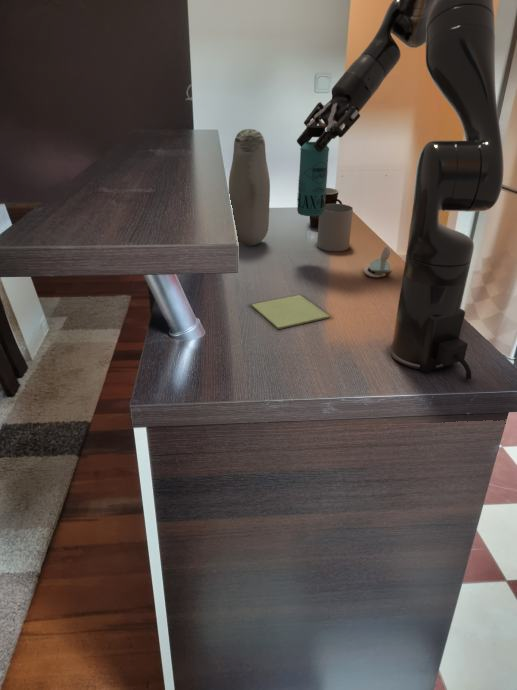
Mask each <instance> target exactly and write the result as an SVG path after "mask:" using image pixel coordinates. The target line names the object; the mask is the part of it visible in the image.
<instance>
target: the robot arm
mask: <svg viewBox="0 0 517 690" xmlns="http://www.w3.org/2000/svg"><path fill="white" fill-rule="evenodd" d="M494 11H495V10H494V0H392V1H391V3H390V4H389V6H388V8H387V10H386V12H385V14H384V17H383V20H382V21H381V24H380V26H379V28H378V30H377V32H376V33H375V35H374V37H373V39H372V40H371V42H370V43H369V44H368V45H367V46H366V48H364V50H363V51H362V53H361V54H360V55H359V56H358V58H356V59H355V60H354V61H353V62H352V63H351V64H350V66H349V67H348V68H347V69H346V70H345V72H344V73H343V74H342V76H341V77H340V78H339V79H338V80H337V82H336V83H335V84H334V85H333V87H332V88H331V99H330V100H329V101H328V102H327V103H326V104H323V103H322V102H321V101H319V102H318V103H317V104H316V105H315V106H314V108H313V109H312V110H311V111H310V113H309V114H308V116H307V117H306V119H305V120H304V121H303V125H304V126H305V129H304V131H302V132H301V134H300V135H299V137H298V138H297V139H296V144H298V145H299V147H300V148H301V147H302V146H303V145H304V144H305V143H306V142H311V140H312V139H313V137H307V136H306V132H307V126H313V125H319V126H324V127H325V131H324V132H323V133H322V134H321V136H320V137H317V139H316V141H314V142H315V143H314V147H315V148H316V150H317V151H319V152H322V151H323V149H324V148H325V147H326V146H328V145H329V144H330V142H331V141H332V140H334V139H336V138H337V137H338V138H343V136H345V134H346V133H347V132H348V131H349V130H350V129H351V128H352V127H353V125H355V123H356V122H357V121H358V120H359V119H360V118H361V114H360V111H362V109H364V106H366V104H367V103H368V102H369V100H370V99H371V98H372V97H373V95H375V93H376V92H377V90H378V89H380V86H381V85H382V83H383V82H384V80H385V79H386V78H387V76H388V75H389V74H390V73H391V72H392V70H393V69H394V68H395V66H396V65H397V64H398V63H399V61H400V59H401V57H402V56H401V50H400V46H399V45H398V44H397V42H396V41H395V39H394V38H393V36H394V37H396V38H397V39H398V40H399V41H400V42H402V43H403V44H404V45H405V46H407V48H408V47H409V48H411V49H418V48H421V47H422V46H423V45H425V65H426V69H427V72H428V75H429V77H430V79H431V80H432V83H433V84H434V85H435V86H436V88H437V89H438V91H439V92H440V94H441V95H442V97H443V98H444V99H445V100H446V102H447V103H448V104H449V106H450V107H451V108H452V110H453V111H454V112H455V114H456V116H457V118H458V119H459V122H460V123H461V127H462V129H463V133H464V138H465V140H446V139H445V140H443V139H442V140H431V141H428V142H427V143H426V144H425V145H423V147H422V149H421V151H420V153H419V156H418V159H417V164H416V169H415V177H414V186H413V187H414V188H413V198H412V208H411V216H410V224H409V230H408V232H409V233H408V239H407V240H408V241H407V246H406V254H405V261H404V267H403V273H402V279H401V286H400V291H399V299H398V305H397V309H396V310H397V311H396V316H395V324H394V329H393V330H394V331H393V337H392V342H391V343H392V344H391V345H390V355H391V357H392V359H394V360H395V361H396V362H397V363H399V364H401V365H403V366H406V367H408V368H411V369H416V370H419V371H421V372H423V373H425V374H426V373H430V372H432V371H433V372H434V371H436V370H440V369H443V368H446V367H449V366H450V367H451V366H453V365H454V364H456V363H460V364H461V366H462V367H463V368H464V370H465V379H466V380H467V381H470V380H471V379H472V369H471V366H470V365H469V364H468V362H467V361H466V360H465V358H466V354H467V351H468V350H467V349H468V346H469V343H468V342H466V341H464V340H462V339H461V338H460V337H461V334H462V330H463V326H464V325H463V324H464V321H465V316H466V311H465V310H464V309H462V304H463V300H464V299H463V298H464V295H465V289H466V284H467V280H468V276H469V272H470V267H471V264H472V263H471V262H472V259H473V254H474V248H475V243H474V240H473V239H472V238H470V237H469V235H466V234H465V233H463V232H460V231H457V230H455V229H452V228H450V227H448V226H446V225H444V224H443V223H442V222H440V212H466V213H467V212H485V211H488V210H490V209H492V208H493V207H495V205H496V203H497V202H498V200H499V198H500V196H501V192H502V188H503V182H504V152H503V143H502V135H501V126H500V119H499V112H498V105H497V104H498V103H497V94H496V68H495V67H496V65H495V64H496V63H495V62H496V33H495V32H496V31H495V28H496V27H495V12H494ZM392 35H393V36H392Z"/></svg>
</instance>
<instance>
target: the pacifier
mask: <svg viewBox="0 0 517 690" xmlns="http://www.w3.org/2000/svg"><path fill="white" fill-rule="evenodd" d="M390 255H391V251H390V249H389V247H387V246H385V247H384V248H383V250H382V252H381V255H380V258H376V259H374V260H372V261H371V262H370V264H369V266H366V267H365V268H364V270H363V272H364V274H365V275H366V276H368V277H371V278H381V277H385V276H386V275H387V274H390V273H393V270H390V269H391V264H390V262H388V261H387V260H388V259H389V258H390ZM370 271H372V272H374V273H372V272H370Z"/></svg>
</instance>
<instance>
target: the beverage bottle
mask: <svg viewBox="0 0 517 690" xmlns="http://www.w3.org/2000/svg"><path fill="white" fill-rule="evenodd" d="M324 131H326V128H325V127H324V126H319V124H317V125H313V126H307V132H306V136H307V137H312V138H319V137H320V136H321V134H322V133H323V132H324ZM315 142H316V141H309V142H306V143H305V144H304V145H303V146H302V147H301V146H300V148H299V149H300V150H299V151H300V154H299V172H298V174H299V175H298V187H297V197H296V198H297V199H296V200H297V207H296V210H297V214H298V215H300V216H304V217H310V216H320V215H323V214H324V210H325V206H326V205H325V203H326V189H327V188H328V187H327V184H328V168H329V167H328V166H329V165H328V164H329V155H330V154H329V153H330V148H329V146H328V145H327V146H326V147H325V148H324V149H323V151H322V152H319V151H317V150H316V148H315V147H314V143H315Z"/></svg>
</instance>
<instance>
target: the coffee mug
mask: <svg viewBox="0 0 517 690" xmlns="http://www.w3.org/2000/svg"><path fill="white" fill-rule="evenodd" d="M326 188H327V189H326V203H325V204H343V202H342V200H340V199H338V198H339V196H338V195H339V190H338V189H336V188H331V187H326ZM337 202H338V203H337ZM318 224H319V216H309V226H310V228H314V229H318Z"/></svg>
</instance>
